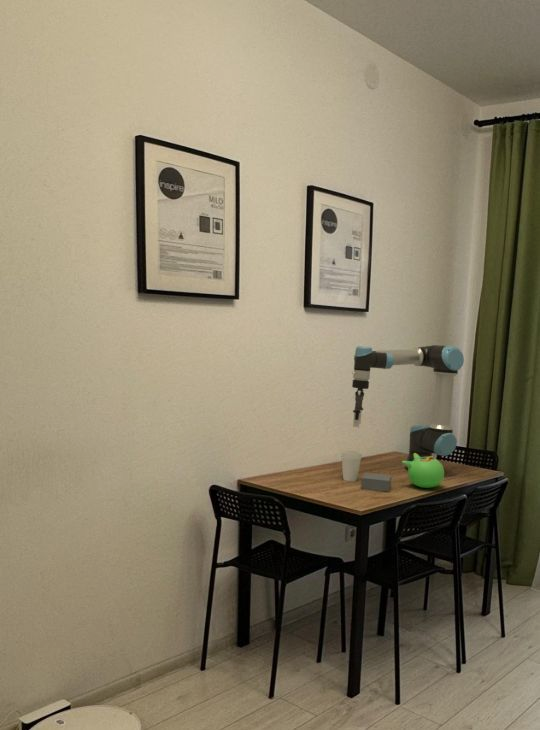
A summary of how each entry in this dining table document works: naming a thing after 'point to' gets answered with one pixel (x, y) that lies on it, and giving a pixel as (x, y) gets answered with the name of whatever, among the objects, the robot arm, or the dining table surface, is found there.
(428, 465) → the toy bird
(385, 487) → the base plinth
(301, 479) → the dining table surface
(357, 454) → the foam cup
